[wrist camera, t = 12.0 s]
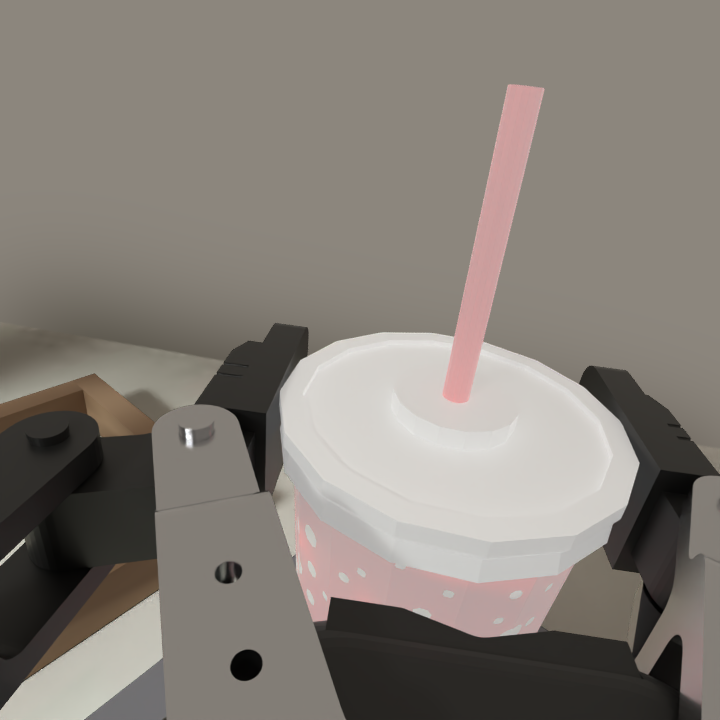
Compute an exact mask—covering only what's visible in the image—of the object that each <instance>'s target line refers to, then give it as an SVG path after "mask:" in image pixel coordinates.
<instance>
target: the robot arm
mask: <svg viewBox="0 0 720 720" xmlns="http://www.w3.org/2000/svg"><path fill="white" fill-rule="evenodd" d="M307 352H308V328H307V327H301V326H293V325H286V324H279V323H275V324H274V325H273V327H272V328H271V330H270V332H269V333H268V335H267V337H266V338H265V340H264V342H263V343H261V342H254V341H248V342H246V343H244V344H243V345H241V346H239V347H237V348H235V349H233V350H232V351H231V353H230V354H229V356H228V357H227V358H226V360H225V361H224V365H222V366H221V367H220V368H219V370H218V371H217V375H214V377H213V378H212V380H211V381H210V383H209V384H208V385H207V387H206V388H205V390H204V391H203V393H202V394H201V395H200V397H199V398H198V400H197V401H196V403H195V404H194V405H189V406H184V407H180V408H177V409H174V410H172V411H170V412H168V413H166V414H164V415H163V416H161V417H160V418H159V419H158V420H157V421H156V423H155V424H154V426H153V428H152V433H147V434H140V435H128V436H113V437H100V431H99V426H98V423H97V422H96V420H95V419H94V418H92V417H91V416H89V415H87V414H84V413H81V412H76V411H53V412H46V413H41V414H38V415H34V416H31V417H28V418H26V419H23V420H21V421H19V422H17V423H15V424H14V425H12V426H10V427H9V428H8V429H6V430H5V431H3V432H2V433H0V561H1V560H2V559H3V558H4V557H5V556H6V555H7V554H8V553H9V552H10V551H11V550H12V549H14V548H15V547H16V546H17V545H18V544H19V543H20V542H21V541H22V540H23V539H24V538H25V543H24V544H23V545H22V546H21V547H20V548H19V549H18V550H17V551H16V552H15V553H14V554H13V555H12V556H10V557H9V558H8V559H7V560H6V561H5V562H4V563H3V564H2V565H1V566H0V710H1V709H2V707H3V706H4V705H5V703H6V702H7V701H8V700H9V698H10V697H11V696H12V695H13V693H14V692H15V691H16V690H17V688H18V687H19V686H20V685H21V683H22V682H23V681H24V680H25V678H26V677H27V676H28V675H29V673H30V672H31V671H32V669H33V668H34V667H35V666H36V664H37V663H38V662H39V661H40V659H41V658H42V657H43V656H44V654H45V653H46V652H47V651H48V649H49V648H50V647H51V646H52V644H53V643H54V642H55V641H56V639H57V638H58V637H59V636H60V634H61V633H62V632H63V630H64V629H65V628H66V627H67V625H68V624H69V623H70V622H71V620H72V619H73V618H74V617H75V615H76V614H77V613H78V612H79V610H80V609H81V608H82V607H83V605H84V604H85V603H86V602H87V600H88V599H89V598H90V596H91V595H92V594H93V593H94V591H95V590H96V589H97V588H98V586H99V585H100V584H101V583H102V581H103V580H104V579H105V578H106V576H107V575H108V574H109V573H110V571H111V570H112V569H113V567H114V566H115V564H121V563H129V562H137V561H145V560H152V559H157V563H158V580H159V597H160V615H161V632H162V649H163V666H164V684H165V701H166V717H165V718H164V719H162V720H720V475H719V473H718V472H717V471H716V470H715V468H714V467H713V466H712V464H711V463H710V462H709V461H708V459H707V458H706V457H705V456H704V454H703V453H702V452H701V450H700V449H699V448H698V447H697V445H696V444H695V443H694V442H693V441H690V437H689V435H688V434H687V433H686V431H685V430H684V429H683V428H680V424H679V423H678V421H677V420H676V419H675V417H674V416H673V415H672V414H671V413H670V411H669V410H668V409H667V408H665V407H664V406H662V405H661V404H660V403H658V402H657V401H656V400H654V399H653V398H651V397H650V396H649V395H645V394H644V392H643V391H642V390H641V389H640V387H639V386H638V384H637V383H636V382H635V380H634V379H633V378H632V376H631V375H630V374H629V373H628V372H627V371H626V370H619V369H612V368H604V367H596V366H589V367H587V368H586V370H585V371H584V373H583V375H582V377H581V380H580V383H579V385H581V386H583V387H584V388H585V389H587V390H588V391H589V392H590V393H591V394H592V395H593V396H594V397H595V398H596V399H597V400H598V401H599V402H600V403H601V404H603V405H604V406H605V407H606V408H607V409H608V410H609V411H610V412H611V413H612V414H613V415H614V416H615V417H616V418H617V419H619V420H620V422H621V423H622V425H623V427H624V429H625V432H626V434H627V436H628V438H629V441H630V443H631V445H632V447H633V450H634V452H635V454H636V456H637V458H638V461H639V463H640V464H639V467H638V470H637V474H636V477H635V481H634V484H633V488H632V491H631V494H630V498H629V501H628V505H627V507H626V509H625V511H624V513H623V515H622V518H621V519H620V520H618V521H617V522H615V523H614V524H613V526H612V529H611V532H610V535H609V538H608V542H607V543H606V544H605V545H603V547H604V550H605V552H606V555H607V557H608V560H609V562H610V564H611V567H612V569H616V570H622V571H629V572H636V573H640V575H641V577H642V581H641V583H640V585H639V587H638V589H637V591H636V592H635V595H634V600H633V606H632V611H631V617H630V623H629V629H628V635H627V640H626V642H624V641H618V640H611V639H604V638H598V637H591V636H585V635H578V634H572V633H565V632H559V631H546V632H536V633H526V634H517V635H507V636H497V637H477V636H473V635H471V634H468V633H465V632H463V631H460V630H458V629H455V628H453V627H450V626H448V625H445V624H443V623H440V622H438V621H435V620H432V619H430V618H427V617H425V616H422V615H420V614H417V613H415V612H412V611H410V610H407V609H405V608H401V607H395V606H388V605H382V604H375V603H368V602H362V601H355V600H349V599H342V598H336V597H331V599H330V605H329V611H328V617H327V620H325V621H315V622H313V620H312V617H311V614H310V611H309V608H308V605H307V602H306V599H305V596H304V593H303V590H302V587H301V583H300V580H299V577H298V574H297V571H296V568H295V565H294V562H293V559H292V556H291V553H290V550H289V547H288V544H287V541H286V538H285V534H284V531H283V528H282V525H281V522H280V519H279V516H278V513H277V510H276V507H275V504H274V501H273V498H272V494H273V491H274V488H275V486H276V483H277V480H278V477H279V474H280V471H281V469H282V466H283V453H282V443H281V433H280V426H281V416H280V406H279V403H280V390H281V388H282V387H283V385H284V384H285V382H286V381H287V379H288V378H289V376H290V375H291V373H292V372H293V370H294V369H295V367H296V366H297V364H298V363H299V361H300V360H302V359H304V358H306V357H307Z"/></svg>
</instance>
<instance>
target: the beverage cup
mask: <svg viewBox="0 0 720 720" xmlns="http://www.w3.org/2000/svg"><path fill="white" fill-rule="evenodd" d="M543 93H544V88H539V87H531V86H523V85H513V84H508V88H507V92H506V97H505V102H504V106H503V111H502V116H501V120H500V125H499V130H498V134H497V140H496V144H495V148H494V153H493V158H492V163H491V167H490V173H489V177H488V181H487V186H486V191H485V196H484V200H483V205H482V210H481V215H480V219H479V224H478V228H477V233H476V238H475V242H474V247H473V252H472V256H471V261H470V266H469V271H468V275H467V280H466V285H465V289H464V294H463V299H462V303H461V308H460V313H459V318H458V323H457V327H456V332H455V336H454V337H452V336H447V335H441V334H436V333H397V332H395V333H394V332H393V333H392V332H381V333H376V334H371V335H366V336H360V337H355V338H350V339H345V340H339V341H336V342H334V343H332V344H330V345H328V346H326V347H324V348H322V349H321V350H319V351H317V352H315V353H313V354H311V355H309V356H307V357H306V358H304V359H302V360H300V361H299V363H298V364H297V366H296V367H295V369H294V370H293V372H292V373H291V375H290V376H289V378H288V379H287V381H286V382H285V384H284V385H283V387H282V388H281V390H280V403H279V406H280V416H281V426H280V433H281V443H282V453H283V464H284V472H285V473H286V475H287V476H288V477H289V479H290V480H291V481H292V483H293V484H294V488H295V540H296V571H297V574H298V577H299V580H300V583H301V587H302V590H303V593H304V596H305V599H306V602H307V605H308V608H309V611H310V614H311V617H312V620H313V622H315V621H325V620H327V617H328V611H329V605H330V599H331V597H336V598H342V599H349V600H355V601H362V602H368V603H375V604H382V605H388V606H395V607H401V608H405V609H407V610H410V611H412V612H415V613H417V614H420V615H422V616H425V617H427V618H430V619H432V620H435V621H438V622H440V623H443V624H445V625H448V626H450V627H453V628H455V629H458V630H460V631H463V632H465V633H468V634H471V635H473V636H477V637H497V636H507V635H517V634H526V633H536V632H538V630H539V628H540V626H541V624H542V622H543V621H544V619H545V617H546V615H547V613H548V611H549V610H550V608H551V606H552V604H553V602H554V601H555V599H556V597H557V595H558V593H559V591H560V590H561V588H562V586H563V584H564V582H565V581H566V579H567V577H568V575H569V573H570V571H571V570H572V568H573V566H574V564H575V563H577V562H578V561H580V560H582V559H583V558H585V557H586V556H588V555H589V554H591V553H592V552H594V551H595V550H597V549H599V548H600V547H602V546H603V545H605V544H606V543H607V542H608V538H609V535H610V532H611V529H612V526H613V524H614V523H615V522H617V521H618V520H620V519H621V518H622V515H623V513H624V511H625V509H626V507H627V505H628V501H629V498H630V494H631V491H632V488H633V484H634V481H635V477H636V474H637V470H638V467H639V464H640V463H639V461H638V458H637V456H636V454H635V452H634V450H633V447H632V445H631V443H630V441H629V438H628V436H627V434H626V432H625V429H624V427H623V425H622V423H621V422H620V420H619V419H617V418H616V417H615V416H614V415H613V414H612V413H611V412H610V411H609V410H608V409H607V408H606V407H605V406H604V405H603V404H601V403H600V402H599V401H598V400H597V399H596V398H595V397H594V396H593V395H592V394H591V393H590V392H589V391H588V390H587V389H585V388H584V387H583V386H581V385H579V384H577V383H576V382H574V381H572V380H570V379H568V378H567V377H565V376H563V375H561V374H560V373H558V372H556V371H555V370H553V369H551V368H549V367H547V366H546V365H544V364H542V363H540V362H538V361H537V360H534V359H531V358H528V357H525V356H523V355H520V354H517V353H514V352H511V351H508V350H505V349H503V348H500V347H497V346H494V345H491V344H488V343H485V342H483V339H484V336H485V331H486V327H487V323H488V319H489V315H490V311H491V307H492V303H493V299H494V294H495V290H496V286H497V282H498V278H499V273H500V270H501V265H502V262H503V257H504V253H505V249H506V245H507V241H508V237H509V233H510V229H511V224H512V221H513V216H514V212H515V208H516V204H517V200H518V196H519V192H520V188H521V184H522V179H523V175H524V171H525V167H526V163H527V159H528V155H529V151H530V146H531V142H532V138H533V134H534V130H535V126H536V122H537V118H538V113H539V110H540V106H541V101H542V97H543Z"/></svg>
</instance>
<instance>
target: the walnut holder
mask: <svg viewBox="0 0 720 720" xmlns="http://www.w3.org/2000/svg"><path fill="white" fill-rule="evenodd" d="M53 411H76V412H81V413H84V414H87V415H89V416H91V417H92V418H94V419H95V420H96V422H97V423H98V426H99V431H100V436H101V437H113V436H128V435H140V434H147V433H152V428H153V426H154V424H155V422H154V421H152V420H151V419H150V418H149V417H147V416H146V415H145V414H144V413H143V412H141V411H140V410H139V409H138V408H136V407H135V406H134V405H133V404H131V403H130V402H129V401H128V400H127V399H125V398H124V397H123V396H122V395H120V394H119V393H118V392H117V391H115V390H114V389H113V388H112V387H111V386H109V385H108V384H107V383H106V382H104V381H103V380H102V379H101V378H99V377H98V376H97V375H96V374H95V373H94V374H91V375H88V376H85V377H82V378H79V379H76V380H73V381H70V382H67V383H64V384H61V385H58V386H55V387H52V388H49V389H46V390H42V391H39V392H36V393H33V394H30V395H27V396H24V397H21V398H18V399H15V400H12V401H9V402H6V403H3V404H0V433H2V432H3V431H5V430H6V429H8V428H9V427H10V426H12V425H14V424H15V423H17V422H19V421H21V420H23V419H26V418H28V417H31V416H34V415H38V414H41V413H46V412H53ZM158 589H159V580H158V563H157V559H152V560H145V561H137V562H129V563H121V564H115V566H114V567H113V569H112V570H111V571H110V573H109V574H108V575H107V576H106V578H105V579H104V580H103V581H102V583H101V584H100V585H99V586H98V588H97V589H96V590H95V591H94V593H93V594H92V595H91V596H90V598H89V599H88V600H87V602H86V603H85V604H84V605H83V607H82V608H81V609H80V610H79V612H78V613H77V614H76V615H75V617H74V618H73V619H72V620H71V622H70V623H69V624H68V625H67V627H66V628H65V629H64V630H63V632H62V633H61V634H60V636H59V637H58V638H57V639H56V641H55V642H54V643H53V644H52V646H51V647H50V648H49V649H48V651H47V652H46V653H45V654H44V656H43V657H42V658H41V659H40V661H39V662H38V663H37V664H36V666H35V667H34V668H33V669H32V671H31V672H30V673H29V675H28V676H27V677H26V678H25V679H27V678H28V677H29V676H31V675H32V674H34V673H35V672H37V671H38V670H40V669H41V668H43V667H44V666H46V665H47V664H49V663H50V662H52V661H53V660H55V659H56V658H58V657H59V656H61V655H62V654H64V653H65V652H66V651H68V650H69V649H71V648H72V647H74V646H75V645H77V644H78V643H80V642H81V641H83V640H84V639H86V638H87V637H89V636H90V635H92V634H93V633H95V632H96V631H98V630H99V629H101V628H102V627H103V626H105V625H106V624H108V623H109V622H111V621H112V620H114V619H115V618H117V617H118V616H120V615H121V614H123V613H124V612H126V611H127V610H129V609H130V608H132V607H133V606H135V605H136V604H138V603H139V602H141V601H142V600H143V599H145V598H146V597H148V596H149V595H151V594H152V593H154V592H155V591H157V590H158Z"/></svg>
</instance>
